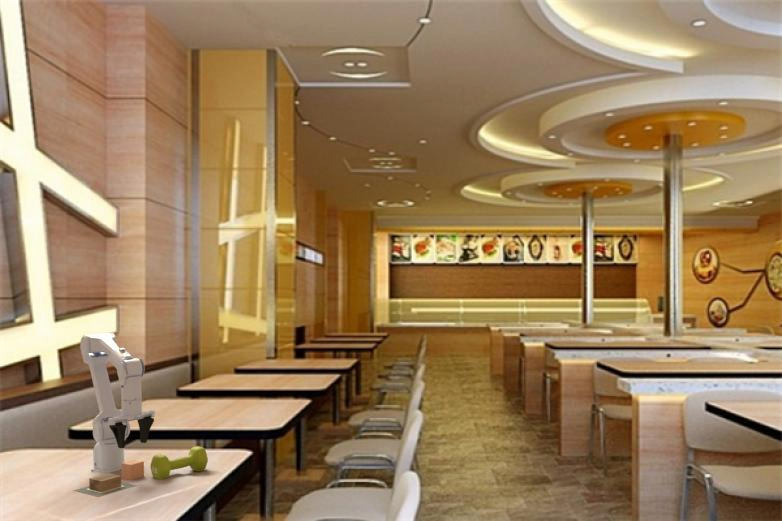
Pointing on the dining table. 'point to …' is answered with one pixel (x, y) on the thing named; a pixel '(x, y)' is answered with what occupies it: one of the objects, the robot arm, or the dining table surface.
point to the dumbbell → (178, 463)
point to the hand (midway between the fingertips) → (132, 445)
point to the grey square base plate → (98, 494)
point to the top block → (132, 469)
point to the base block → (105, 482)
